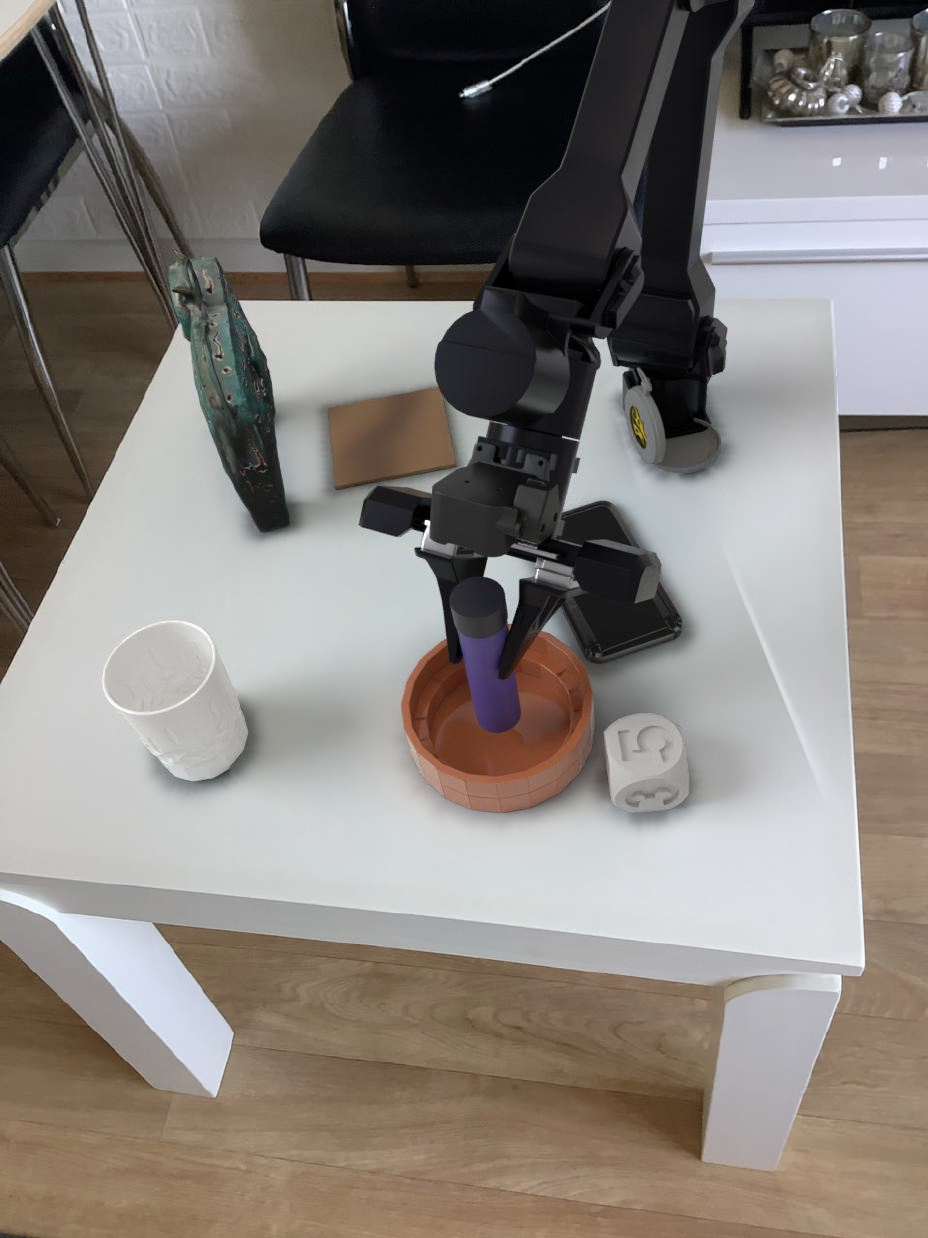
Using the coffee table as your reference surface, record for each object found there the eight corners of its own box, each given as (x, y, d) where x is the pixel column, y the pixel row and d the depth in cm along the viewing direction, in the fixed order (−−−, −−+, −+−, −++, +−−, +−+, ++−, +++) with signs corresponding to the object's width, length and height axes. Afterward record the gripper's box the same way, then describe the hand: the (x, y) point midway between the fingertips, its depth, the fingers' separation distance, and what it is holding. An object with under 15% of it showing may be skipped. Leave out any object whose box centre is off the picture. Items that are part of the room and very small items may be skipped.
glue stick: (518, 689, 75) (500, 571, 65) (526, 729, 73) (509, 613, 63) (471, 698, 75) (446, 581, 65) (478, 738, 73) (453, 624, 63)
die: (603, 754, 74) (602, 715, 70) (675, 747, 74) (677, 708, 70) (613, 818, 71) (612, 781, 67) (687, 811, 71) (691, 773, 67)
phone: (589, 661, 78) (521, 525, 87) (590, 670, 78) (523, 534, 88) (688, 628, 78) (610, 496, 88) (688, 637, 79) (611, 505, 88)
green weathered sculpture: (217, 405, 104) (143, 220, 88) (280, 388, 104) (218, 201, 89) (243, 545, 91) (163, 358, 76) (315, 524, 92) (250, 335, 76)
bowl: (573, 645, 80) (570, 608, 77) (612, 796, 72) (611, 762, 68) (403, 677, 80) (393, 642, 77) (423, 831, 72) (412, 799, 69)
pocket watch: (735, 441, 92) (744, 348, 84) (683, 500, 88) (688, 408, 80) (655, 409, 96) (657, 317, 88) (602, 464, 92) (599, 373, 84)
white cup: (274, 711, 80) (235, 631, 72) (227, 800, 76) (181, 725, 68) (185, 690, 82) (138, 610, 74) (134, 775, 78) (79, 700, 70)
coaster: (440, 389, 101) (440, 385, 101) (456, 466, 94) (455, 463, 94) (328, 410, 101) (327, 407, 101) (335, 489, 94) (334, 486, 94)
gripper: (340, 386, 61) (289, 643, 64) (647, 457, 54) (575, 741, 57) (423, 405, 71) (376, 626, 74) (690, 467, 64) (627, 707, 67)
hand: (478, 670), depth 68 cm, fingers closed on glue stick, 3 cm apart
